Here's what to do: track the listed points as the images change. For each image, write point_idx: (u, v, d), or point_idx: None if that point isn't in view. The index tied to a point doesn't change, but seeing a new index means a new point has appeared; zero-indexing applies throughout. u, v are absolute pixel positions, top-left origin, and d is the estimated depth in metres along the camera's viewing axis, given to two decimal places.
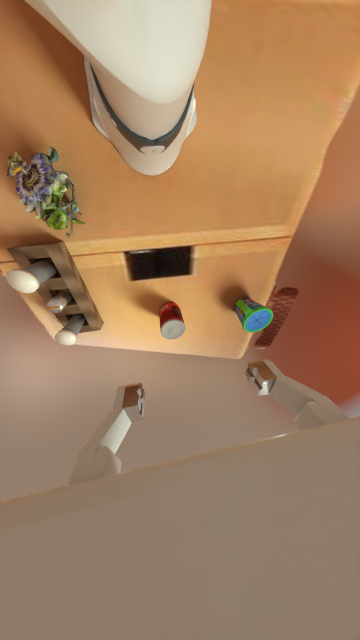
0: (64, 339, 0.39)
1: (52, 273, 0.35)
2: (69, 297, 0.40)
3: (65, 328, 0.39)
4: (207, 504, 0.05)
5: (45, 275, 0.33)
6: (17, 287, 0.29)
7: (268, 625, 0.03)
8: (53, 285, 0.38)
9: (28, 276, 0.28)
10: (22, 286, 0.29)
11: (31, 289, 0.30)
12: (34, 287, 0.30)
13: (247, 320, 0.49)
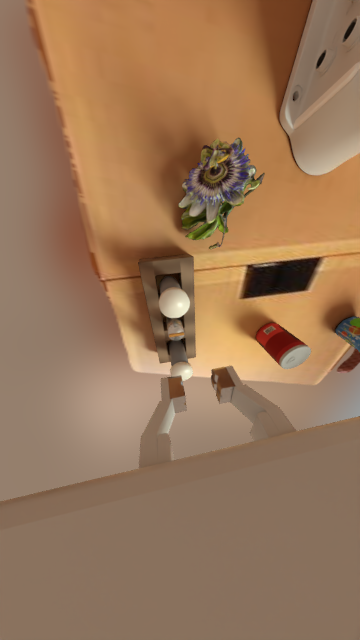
0: (180, 374, 0.30)
1: None
2: None
3: (179, 359, 0.31)
4: (207, 504, 0.05)
5: None
6: (166, 311, 0.22)
7: (268, 625, 0.03)
8: None
9: (186, 296, 0.21)
10: (172, 309, 0.22)
11: (180, 313, 0.22)
12: (185, 310, 0.22)
13: None
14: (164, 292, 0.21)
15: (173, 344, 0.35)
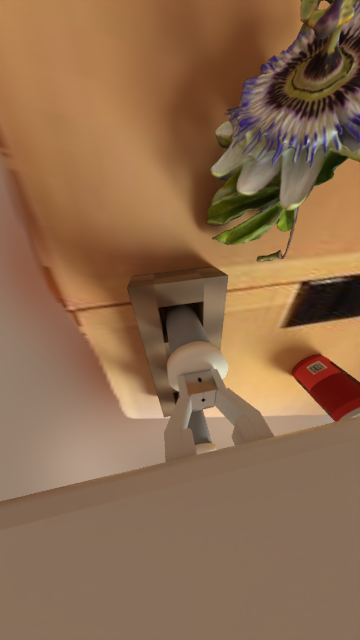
0: None
1: None
2: None
3: (197, 435, 0.19)
4: (207, 504, 0.05)
5: None
6: None
7: (268, 625, 0.03)
8: None
9: (223, 361, 0.11)
10: None
11: None
12: None
13: None
14: (179, 354, 0.10)
15: None
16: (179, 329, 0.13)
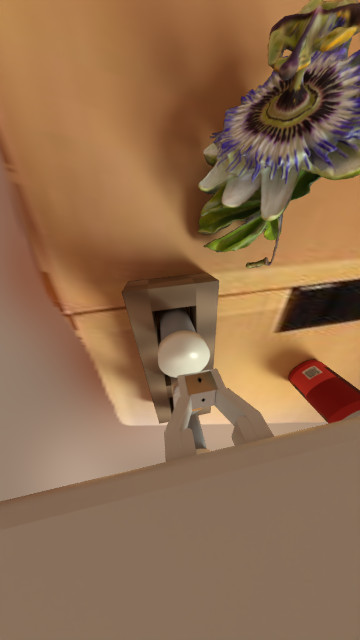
0: None
1: None
2: None
3: None
4: (207, 504, 0.05)
5: None
6: (170, 369, 0.13)
7: (268, 625, 0.03)
8: None
9: (205, 347, 0.12)
10: (180, 367, 0.13)
11: (193, 370, 0.14)
12: (201, 366, 0.13)
13: None
14: (167, 341, 0.12)
15: None
16: (169, 322, 0.15)
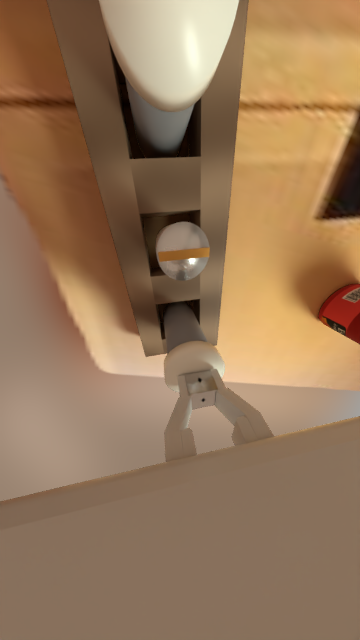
0: None
1: (183, 137, 0.11)
2: None
3: (188, 336, 0.12)
4: (207, 504, 0.05)
5: None
6: (129, 14, 0.05)
7: (268, 625, 0.03)
8: (160, 190, 0.11)
9: None
10: (160, 10, 0.05)
11: (195, 58, 0.05)
12: (217, 41, 0.05)
13: None
14: None
15: (172, 309, 0.16)
16: None
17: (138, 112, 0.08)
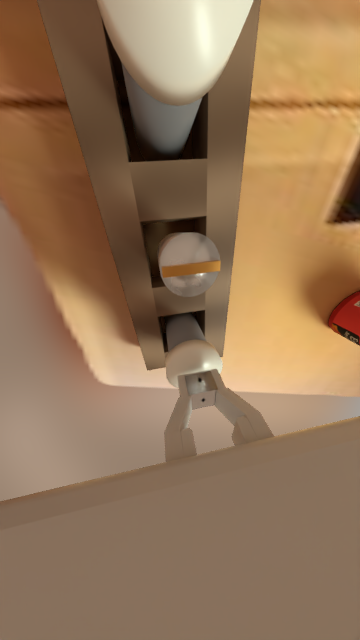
0: (192, 372, 0.12)
1: (187, 137, 0.10)
2: None
3: (188, 336, 0.13)
4: (207, 504, 0.05)
5: None
6: None
7: (268, 625, 0.03)
8: (162, 195, 0.10)
9: None
10: None
11: (209, 35, 0.04)
12: (236, 13, 0.04)
13: None
14: None
15: None
16: None
17: (138, 109, 0.07)
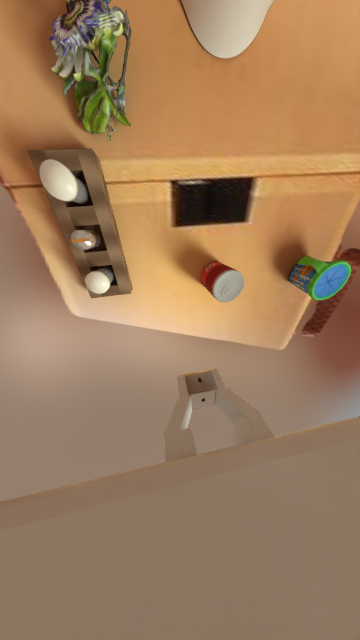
0: (96, 283, 0.31)
1: (89, 197, 0.29)
2: (98, 238, 0.31)
3: None
4: (207, 504, 0.05)
5: (83, 190, 0.26)
6: (51, 189, 0.22)
7: (268, 625, 0.03)
8: (80, 217, 0.29)
9: (67, 171, 0.22)
10: (57, 188, 0.22)
11: (68, 194, 0.23)
12: (72, 191, 0.23)
13: (318, 280, 0.38)
14: None
15: None
16: None
17: None
